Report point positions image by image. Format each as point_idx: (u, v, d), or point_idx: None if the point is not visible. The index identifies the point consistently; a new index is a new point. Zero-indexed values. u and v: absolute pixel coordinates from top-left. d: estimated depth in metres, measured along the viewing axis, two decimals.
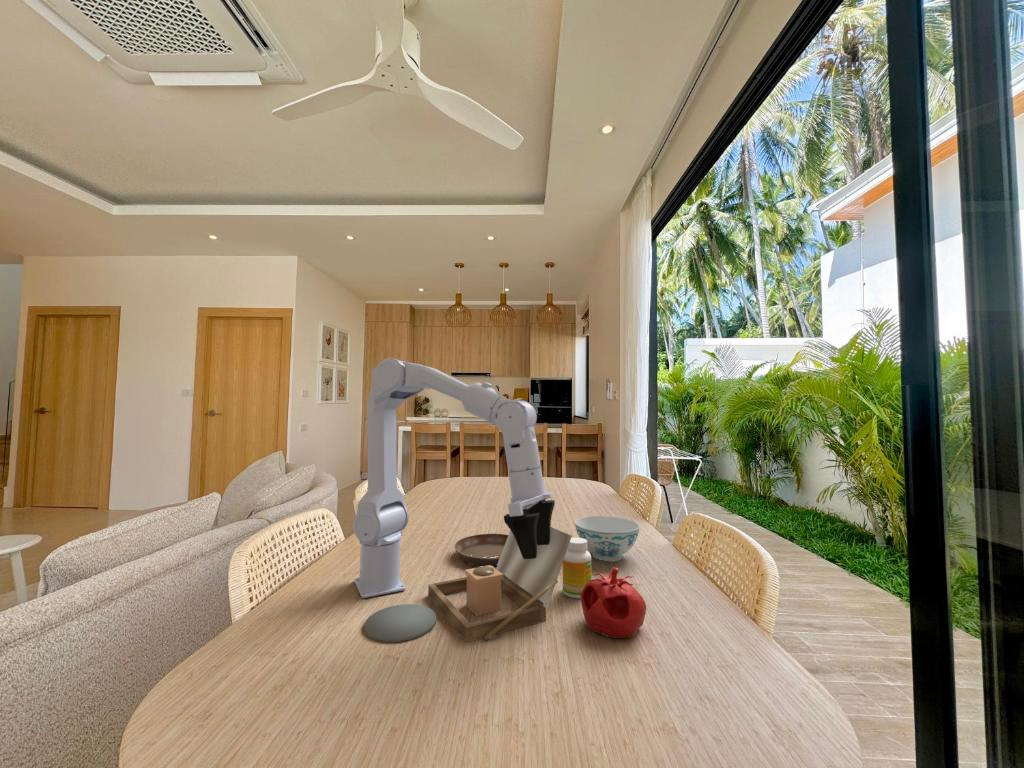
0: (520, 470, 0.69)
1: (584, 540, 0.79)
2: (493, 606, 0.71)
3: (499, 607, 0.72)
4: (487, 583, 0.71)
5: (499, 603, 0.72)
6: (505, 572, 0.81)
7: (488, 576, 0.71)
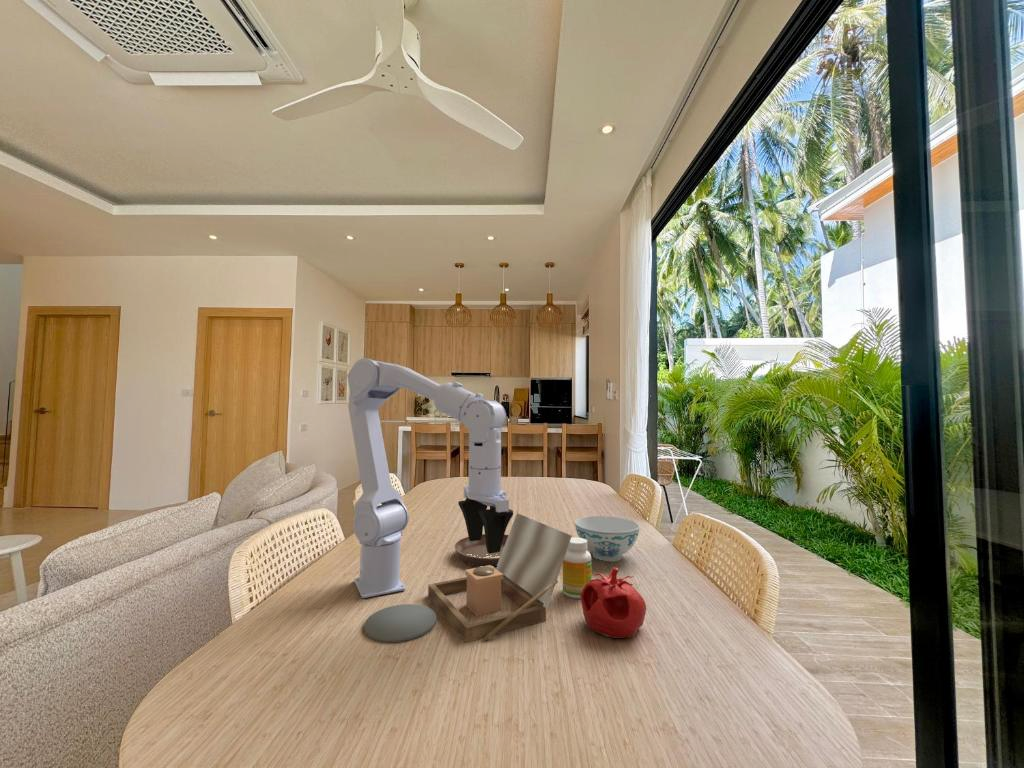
0: (493, 468, 0.72)
1: (584, 540, 0.79)
2: (493, 606, 0.71)
3: (499, 607, 0.72)
4: (487, 583, 0.71)
5: (499, 603, 0.72)
6: (505, 572, 0.81)
7: (488, 576, 0.71)
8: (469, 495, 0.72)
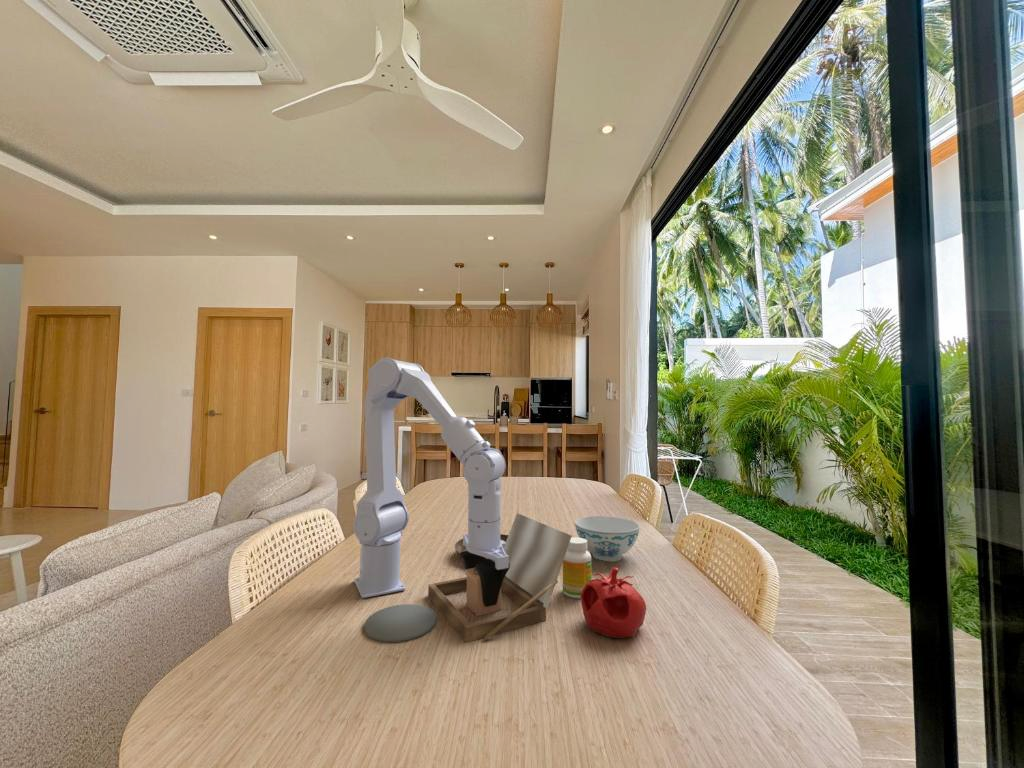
0: (492, 521, 0.71)
1: (584, 540, 0.79)
2: (493, 606, 0.71)
3: (499, 607, 0.72)
4: None
5: (499, 603, 0.72)
6: None
7: None
8: (468, 548, 0.72)
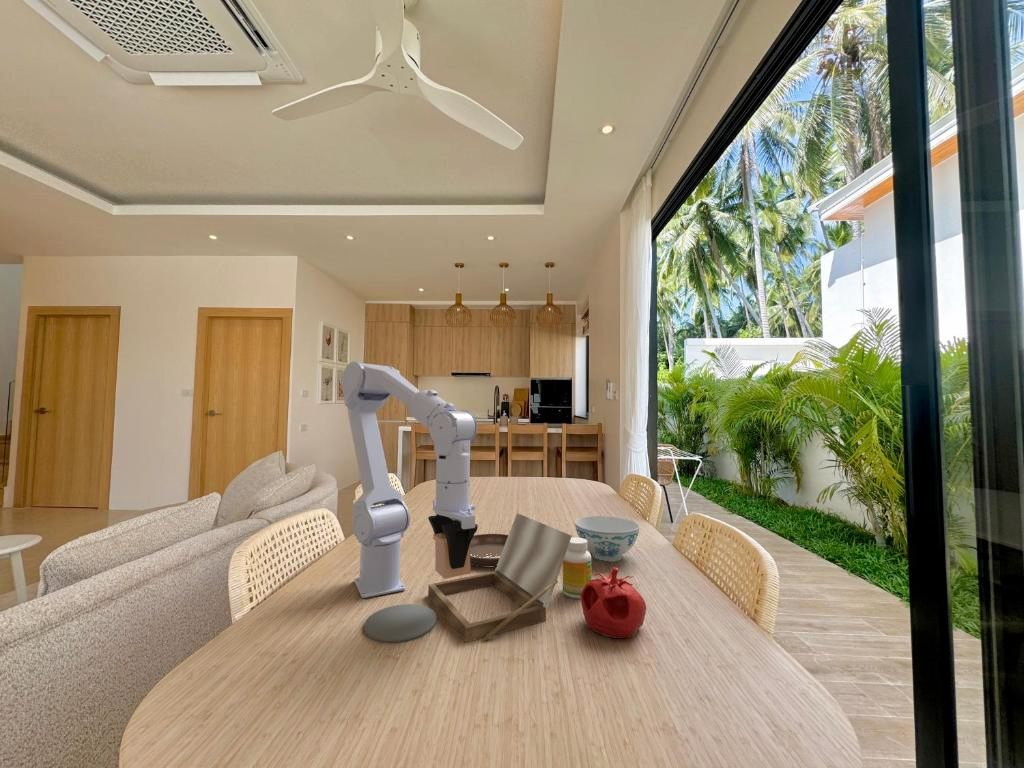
0: (460, 482, 0.69)
1: (584, 540, 0.79)
2: (462, 569, 0.69)
3: (468, 570, 0.70)
4: None
5: (468, 566, 0.70)
6: (505, 572, 0.81)
7: None
8: (436, 510, 0.70)
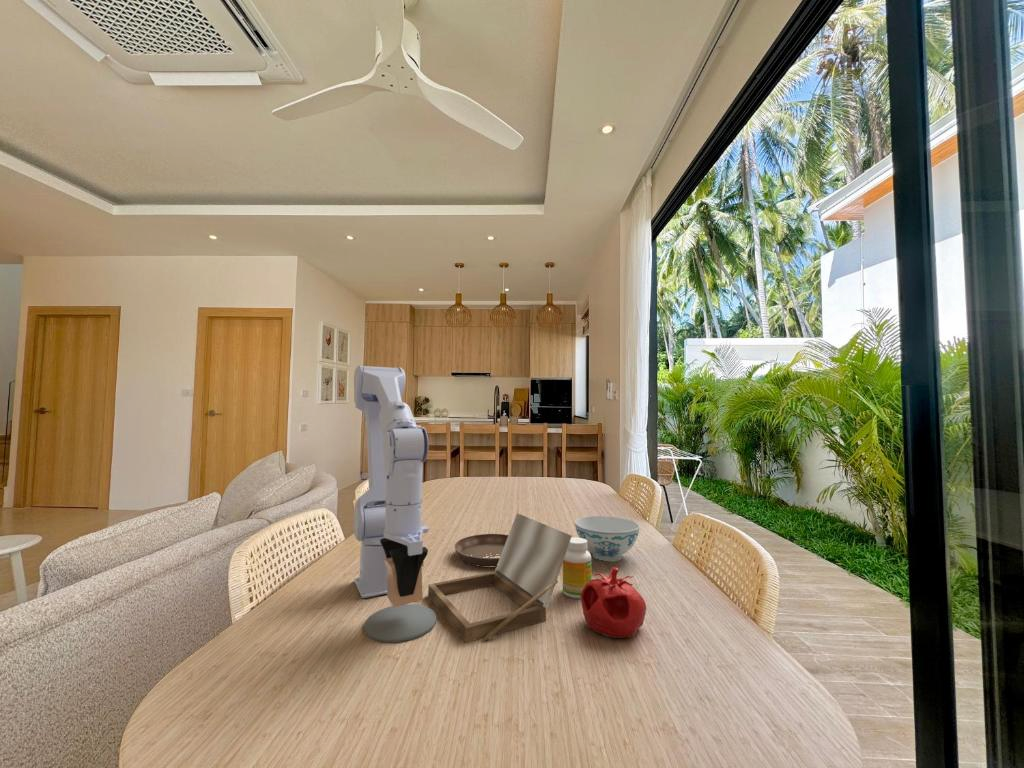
0: (410, 504, 0.66)
1: (584, 540, 0.79)
2: (413, 596, 0.66)
3: (420, 597, 0.66)
4: None
5: (420, 592, 0.66)
6: (505, 572, 0.81)
7: None
8: (384, 533, 0.66)
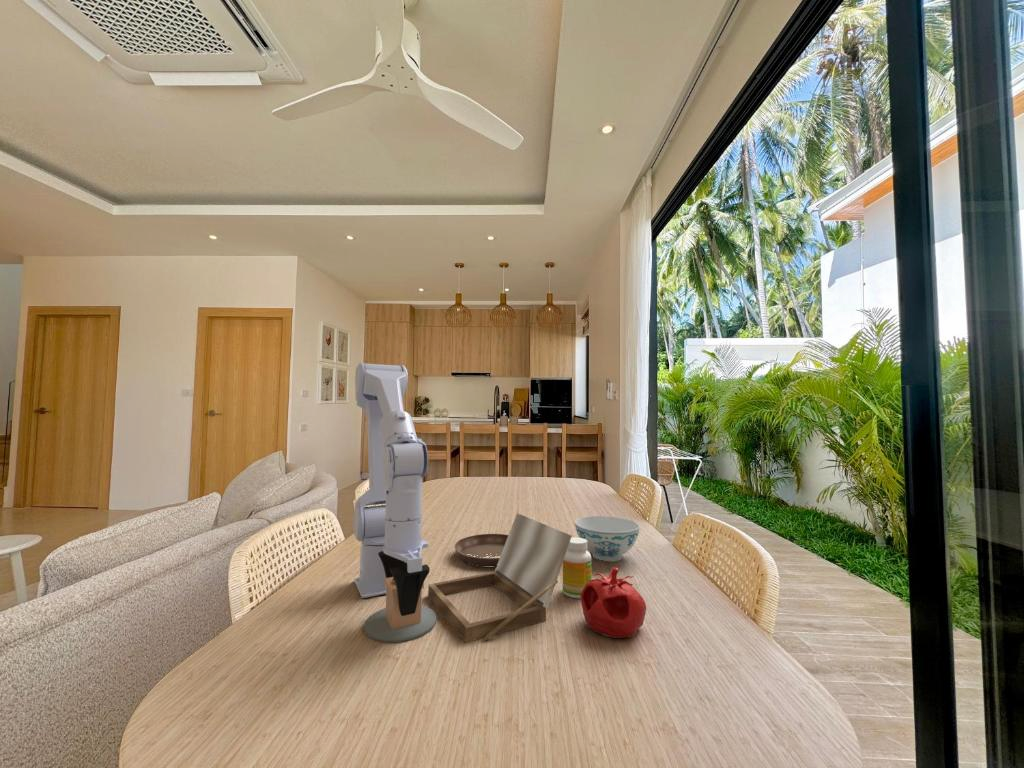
0: (410, 520, 0.66)
1: (584, 540, 0.79)
2: (412, 618, 0.65)
3: (419, 619, 0.66)
4: None
5: (419, 615, 0.66)
6: (505, 572, 0.81)
7: None
8: (384, 549, 0.66)
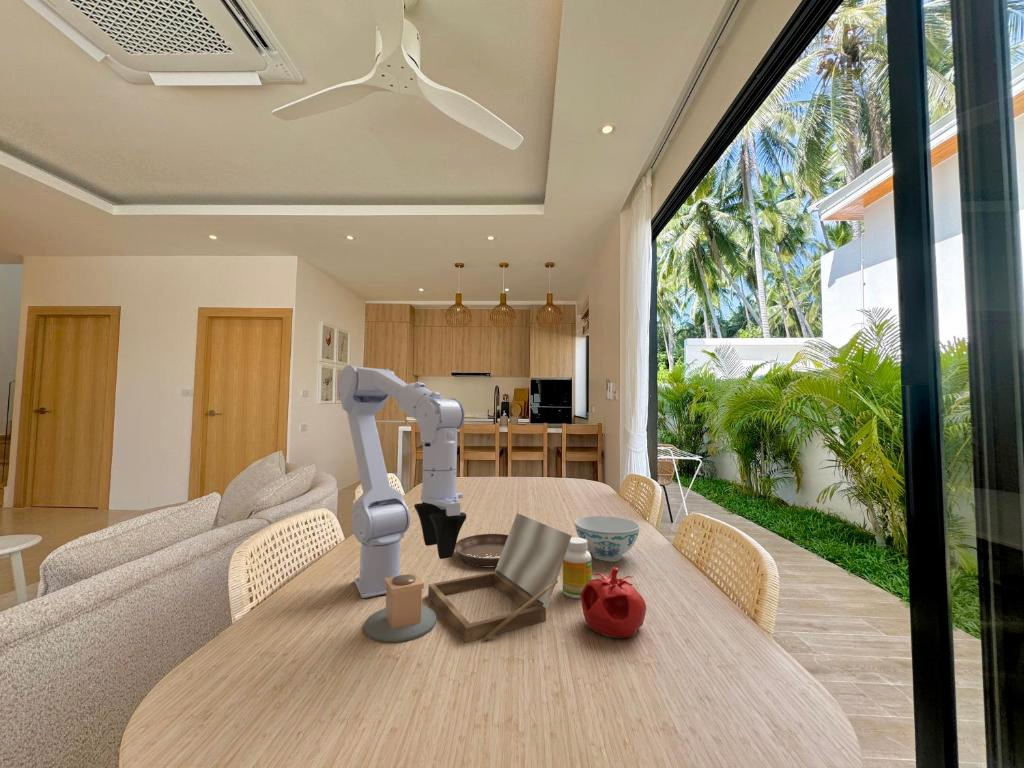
0: (446, 470, 0.69)
1: (584, 540, 0.79)
2: (412, 618, 0.65)
3: (419, 619, 0.66)
4: (405, 593, 0.65)
5: (419, 615, 0.66)
6: (505, 572, 0.81)
7: (406, 585, 0.65)
8: (422, 498, 0.69)
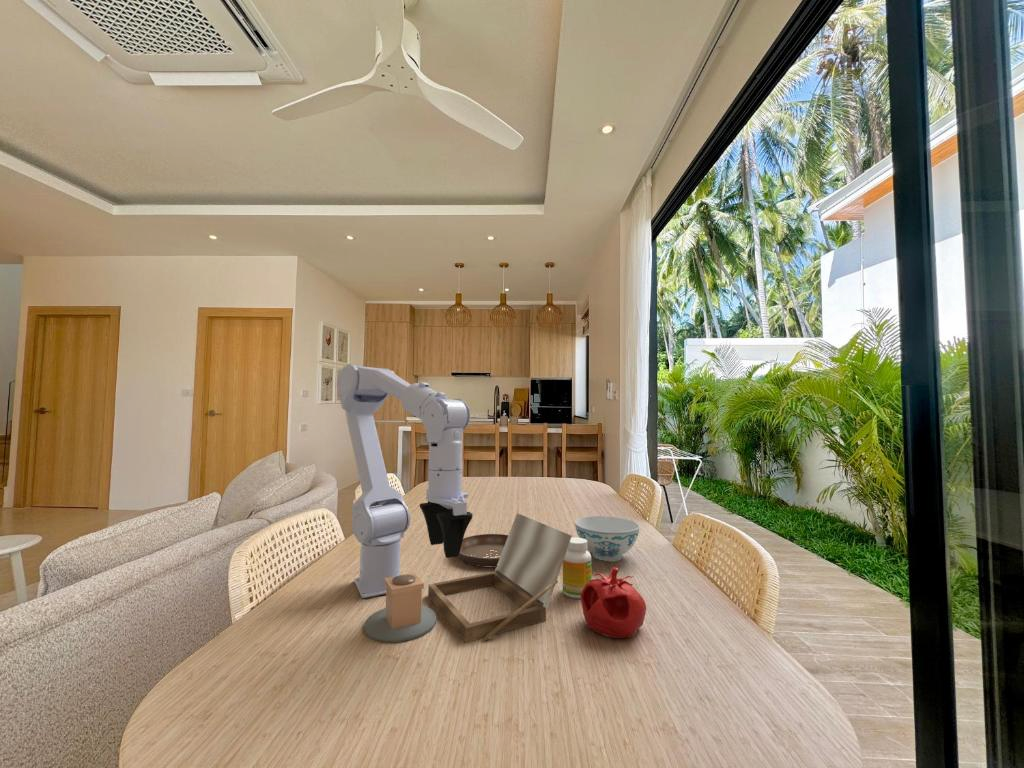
0: (453, 469, 0.70)
1: (584, 540, 0.79)
2: (412, 618, 0.65)
3: (419, 619, 0.66)
4: (405, 593, 0.65)
5: (419, 615, 0.66)
6: (505, 572, 0.81)
7: (406, 585, 0.65)
8: (428, 497, 0.70)
